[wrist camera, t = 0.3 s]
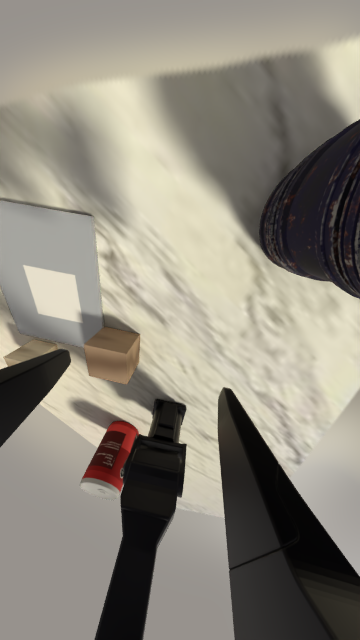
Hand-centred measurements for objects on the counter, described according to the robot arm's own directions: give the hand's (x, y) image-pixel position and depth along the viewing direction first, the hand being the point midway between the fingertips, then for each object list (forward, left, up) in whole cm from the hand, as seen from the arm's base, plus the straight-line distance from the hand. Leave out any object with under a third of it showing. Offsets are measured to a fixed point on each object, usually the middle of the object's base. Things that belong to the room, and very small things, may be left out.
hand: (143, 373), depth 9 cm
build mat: (-3, +19, -14) cm, 24 cm away
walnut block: (-11, +8, -14) cm, 19 cm away
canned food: (-38, +8, -14) cm, 41 cm away
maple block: (-16, +23, -14) cm, 31 cm away
